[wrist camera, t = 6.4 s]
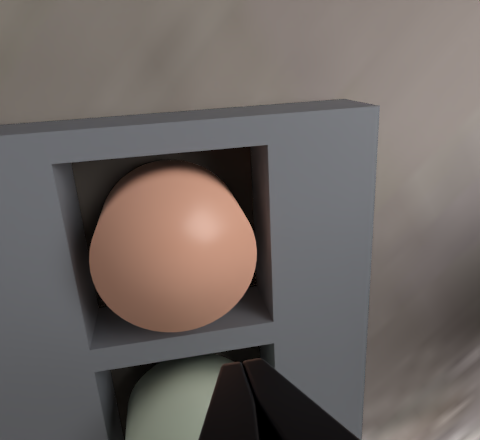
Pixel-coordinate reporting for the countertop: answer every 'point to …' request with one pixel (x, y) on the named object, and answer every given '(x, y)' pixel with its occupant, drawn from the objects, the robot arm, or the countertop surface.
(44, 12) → the countertop surface
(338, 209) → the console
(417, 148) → the countertop surface
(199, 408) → the button sage
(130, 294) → the button terracotta
